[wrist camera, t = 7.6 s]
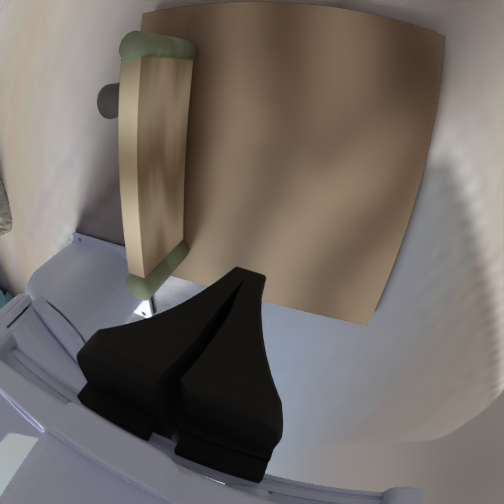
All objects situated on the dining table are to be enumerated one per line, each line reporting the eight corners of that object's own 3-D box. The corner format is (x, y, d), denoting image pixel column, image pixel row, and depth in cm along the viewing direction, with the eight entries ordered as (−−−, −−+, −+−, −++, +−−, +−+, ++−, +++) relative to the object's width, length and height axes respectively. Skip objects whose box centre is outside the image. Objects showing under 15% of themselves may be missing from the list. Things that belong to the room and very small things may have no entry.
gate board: (155, 262, 25) (122, 297, 21) (151, 15, 14) (100, 6, 10) (367, 316, 21) (366, 367, 17) (440, 38, 10) (472, 22, 6)
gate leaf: (187, 263, 22) (152, 304, 18) (165, 256, 22) (127, 294, 18) (202, 39, 13) (151, 28, 9) (172, 40, 14) (117, 33, 10)
